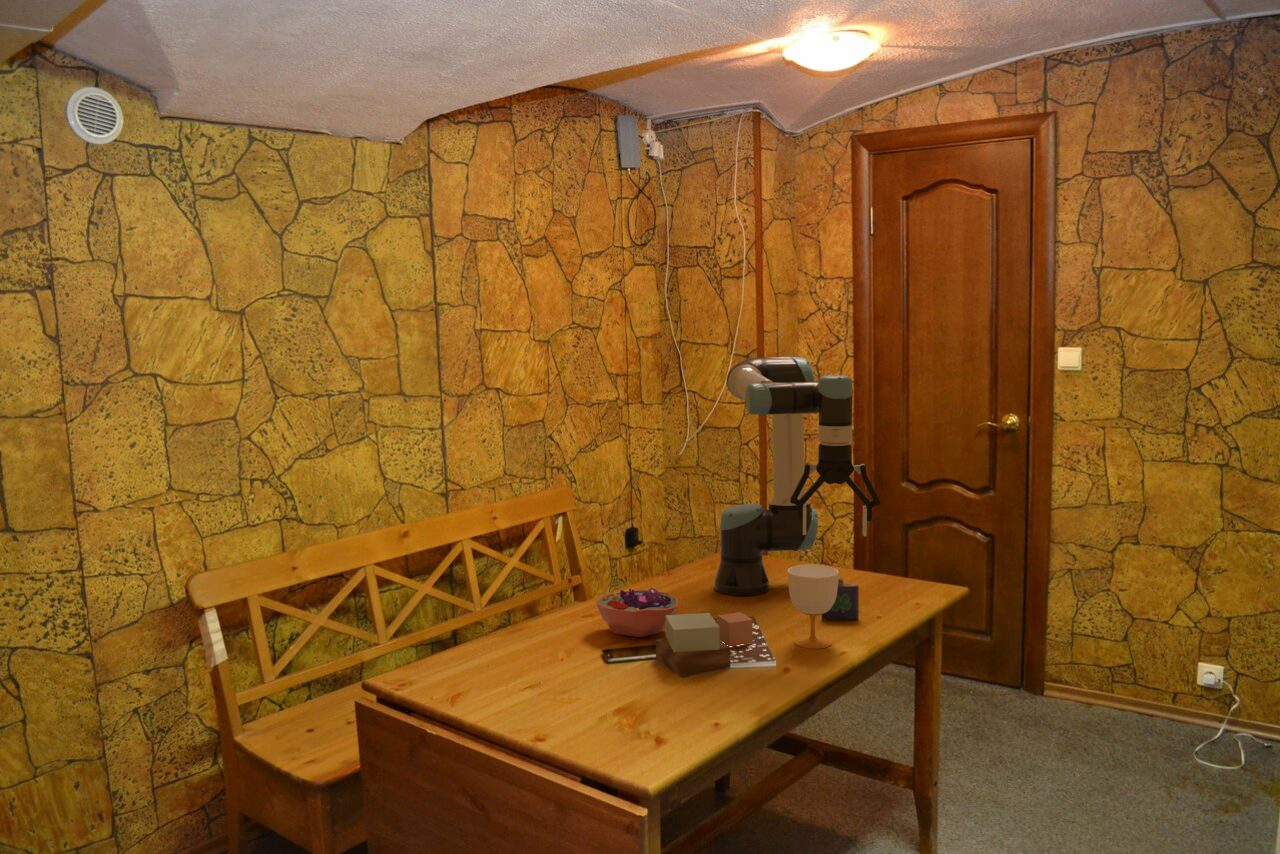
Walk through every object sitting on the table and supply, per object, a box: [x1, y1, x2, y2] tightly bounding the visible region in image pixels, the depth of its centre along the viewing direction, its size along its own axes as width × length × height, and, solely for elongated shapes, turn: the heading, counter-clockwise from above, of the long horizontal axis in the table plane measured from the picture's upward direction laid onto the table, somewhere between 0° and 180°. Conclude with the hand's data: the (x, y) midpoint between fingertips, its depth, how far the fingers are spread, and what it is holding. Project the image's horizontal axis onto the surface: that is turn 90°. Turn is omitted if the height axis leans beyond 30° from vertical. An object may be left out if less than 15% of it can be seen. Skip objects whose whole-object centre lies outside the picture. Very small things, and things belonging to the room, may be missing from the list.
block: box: [717, 611, 754, 646], centre depth 218 cm, size 6×6×6 cm
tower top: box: [665, 612, 721, 652], centre depth 204 cm, size 10×10×5 cm
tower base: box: [655, 637, 731, 679], centre depth 204 cm, size 12×12×5 cm
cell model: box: [595, 587, 679, 638], centre depth 224 cm, size 17×20×11 cm
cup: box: [787, 563, 840, 650], centre depth 216 cm, size 12×12×17 cm
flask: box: [821, 576, 860, 622], centre depth 232 cm, size 9×3×11 cm, turn 88°
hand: (834, 534), depth 215 cm, fingers open, 13 cm apart
